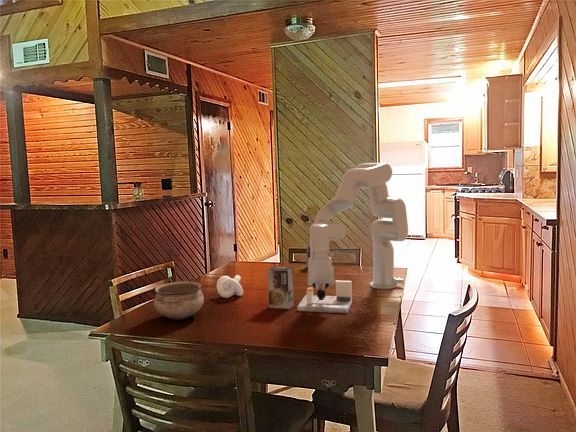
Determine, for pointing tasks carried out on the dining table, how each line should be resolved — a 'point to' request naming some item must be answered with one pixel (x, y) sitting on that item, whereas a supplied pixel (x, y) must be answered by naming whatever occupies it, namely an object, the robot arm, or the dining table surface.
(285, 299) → the coffee box
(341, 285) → the dial
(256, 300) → the dining table surface
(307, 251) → the supplement container
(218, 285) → the white rounded piece
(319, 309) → the console
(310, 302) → the fader tab
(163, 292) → the cooking pot
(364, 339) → the dining table surface
